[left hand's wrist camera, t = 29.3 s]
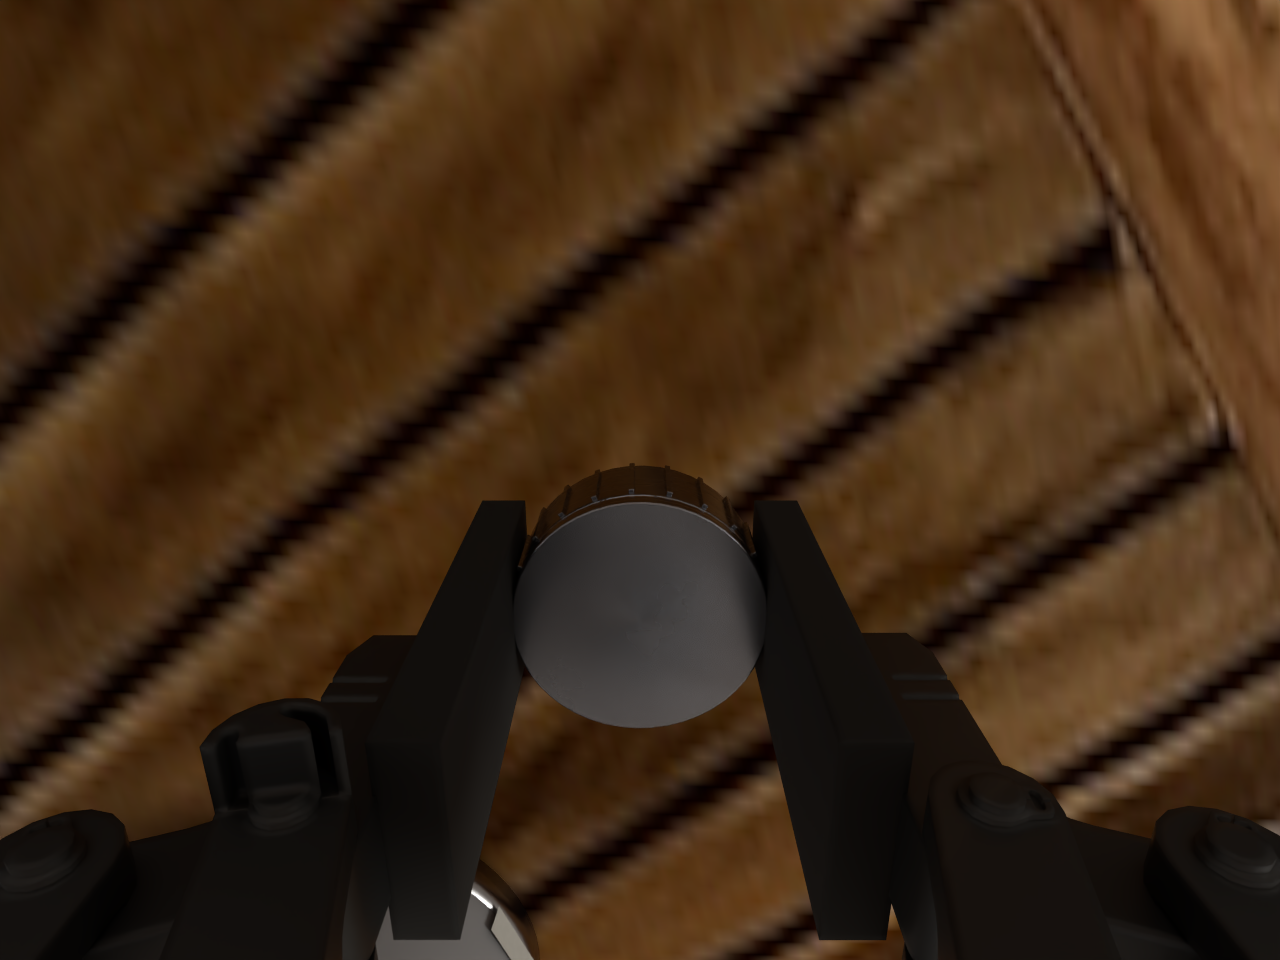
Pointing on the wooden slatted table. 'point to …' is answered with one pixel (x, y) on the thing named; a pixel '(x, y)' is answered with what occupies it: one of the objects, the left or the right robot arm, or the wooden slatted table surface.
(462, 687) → the left robot arm
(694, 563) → the cap
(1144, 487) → the wooden slatted table surface
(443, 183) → the wooden slatted table surface
